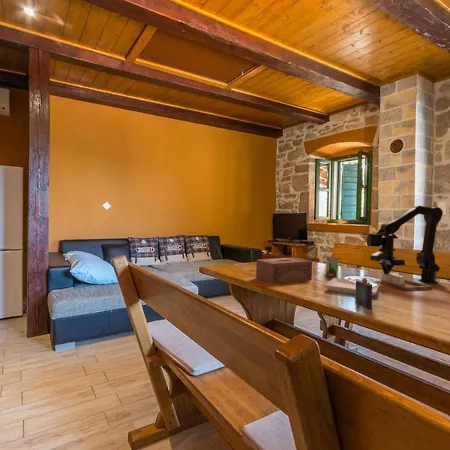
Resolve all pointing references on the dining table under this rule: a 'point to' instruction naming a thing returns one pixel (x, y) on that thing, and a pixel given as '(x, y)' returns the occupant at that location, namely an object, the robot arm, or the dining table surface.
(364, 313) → the dining table surface
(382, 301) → the dining table surface
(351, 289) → the salad plate
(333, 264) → the food container
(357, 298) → the flask
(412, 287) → the frame
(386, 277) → the T block
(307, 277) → the tissue box cover
